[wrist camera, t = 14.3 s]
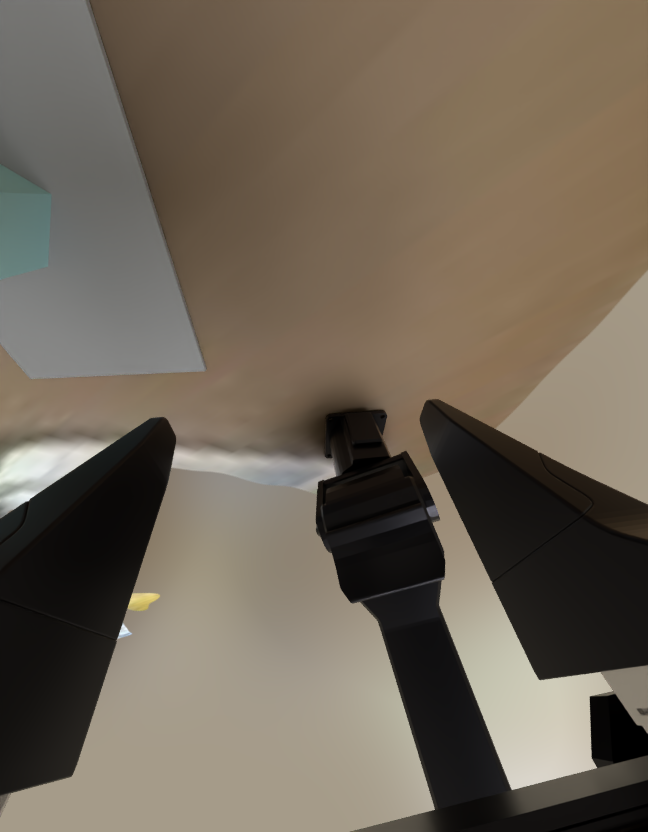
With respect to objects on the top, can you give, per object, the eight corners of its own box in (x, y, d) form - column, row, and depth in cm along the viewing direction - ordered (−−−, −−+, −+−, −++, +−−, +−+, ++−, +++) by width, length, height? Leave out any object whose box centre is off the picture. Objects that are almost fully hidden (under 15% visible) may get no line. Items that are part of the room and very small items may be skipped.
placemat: (206, 368, 21) (205, 371, 21) (34, 376, 20) (30, 379, 19) (71, -54, 9) (64, -62, 9) (-375, -109, 8) (-402, -122, 8)
